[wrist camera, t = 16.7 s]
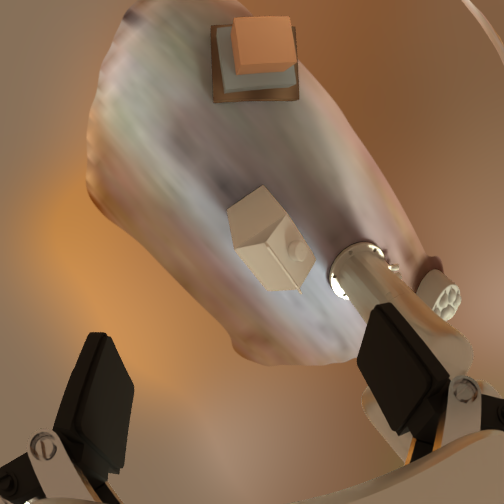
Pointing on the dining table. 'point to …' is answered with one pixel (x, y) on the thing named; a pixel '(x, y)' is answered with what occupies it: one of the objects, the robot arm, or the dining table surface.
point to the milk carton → (269, 242)
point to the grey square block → (247, 80)
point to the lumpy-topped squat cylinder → (439, 294)
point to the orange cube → (262, 44)
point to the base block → (251, 95)
